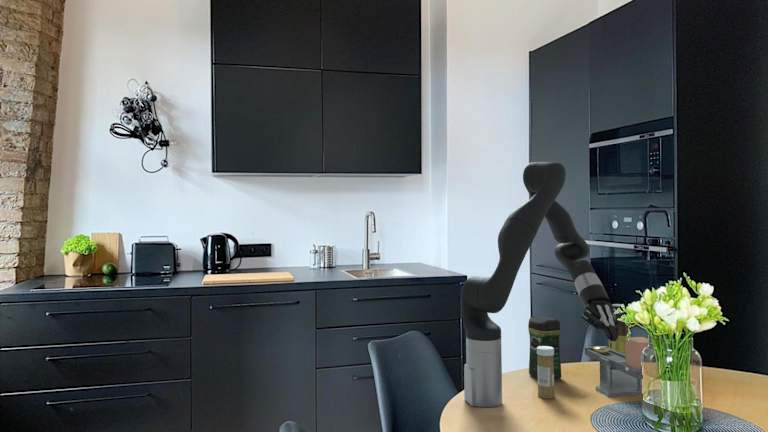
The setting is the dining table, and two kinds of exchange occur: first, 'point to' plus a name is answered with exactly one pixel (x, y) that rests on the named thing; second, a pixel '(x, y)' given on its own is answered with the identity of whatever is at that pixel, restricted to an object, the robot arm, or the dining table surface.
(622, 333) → the sauce bottle
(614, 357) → the beam
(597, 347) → the brass weight
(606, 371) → the fulcrum
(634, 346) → the brown rectangular block
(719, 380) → the dining table surface
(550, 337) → the coffee jar
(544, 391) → the sprinkles bottle
